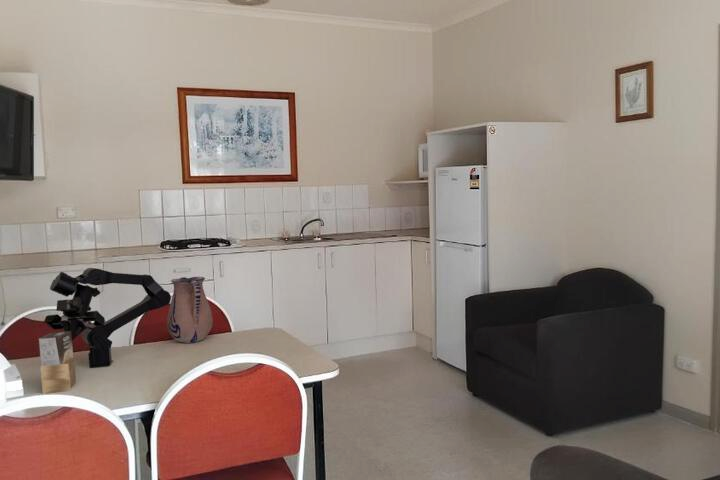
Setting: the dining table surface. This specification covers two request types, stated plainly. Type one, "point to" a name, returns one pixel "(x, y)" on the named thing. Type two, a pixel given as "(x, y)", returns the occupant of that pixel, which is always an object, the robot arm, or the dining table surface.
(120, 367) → the dining table surface
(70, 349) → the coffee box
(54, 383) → the tan wooden block
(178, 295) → the ceramic pitcher
